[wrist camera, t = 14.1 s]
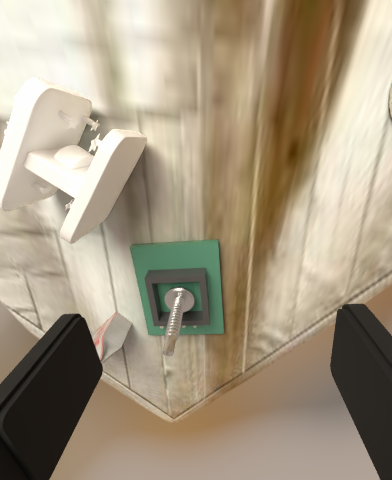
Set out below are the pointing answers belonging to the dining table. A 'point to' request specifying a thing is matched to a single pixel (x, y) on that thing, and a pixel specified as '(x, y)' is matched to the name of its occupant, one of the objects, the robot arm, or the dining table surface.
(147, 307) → the board
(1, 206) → the cable organizer
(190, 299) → the screw
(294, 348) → the dining table surface
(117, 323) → the tea bag
